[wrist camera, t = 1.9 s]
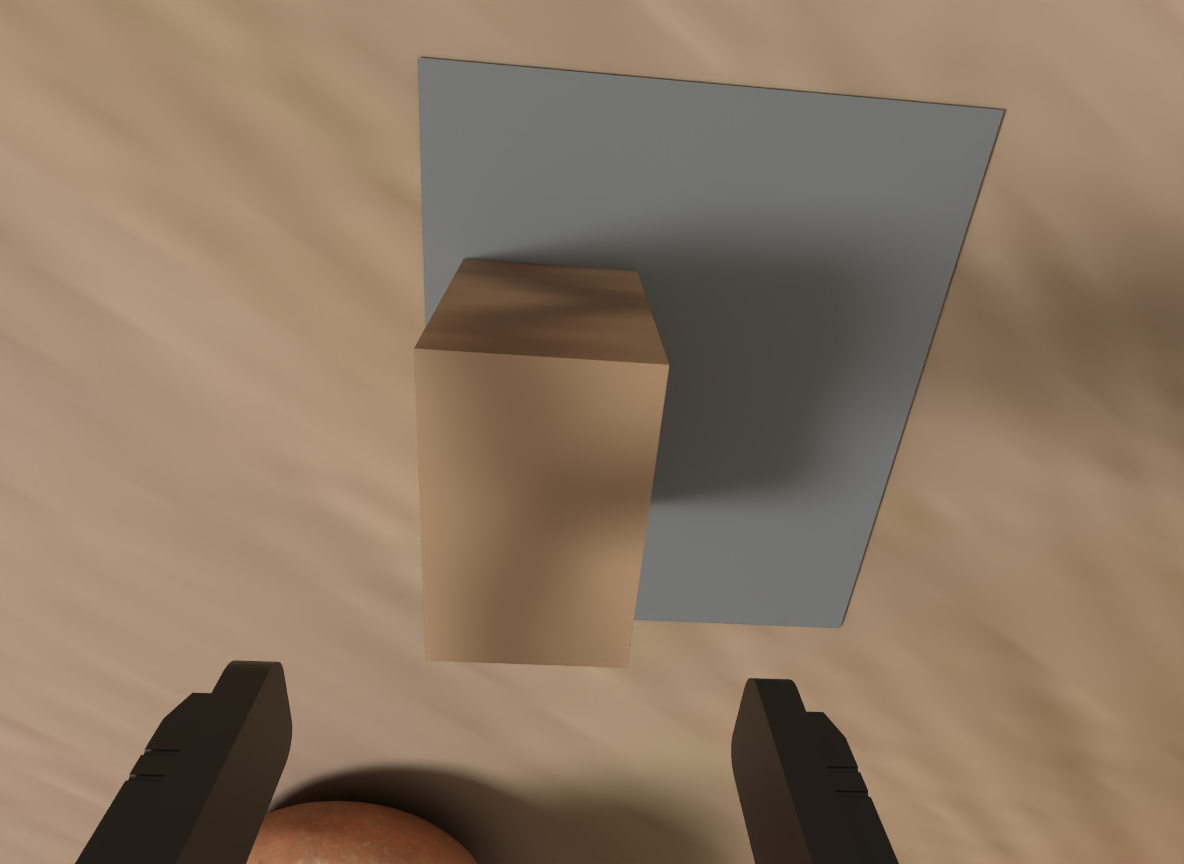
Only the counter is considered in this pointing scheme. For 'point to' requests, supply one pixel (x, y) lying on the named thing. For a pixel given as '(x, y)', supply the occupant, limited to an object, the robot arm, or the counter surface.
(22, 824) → the counter surface
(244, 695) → the robot arm
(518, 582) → the walnut block
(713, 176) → the grey mat
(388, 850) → the ceramic jug
